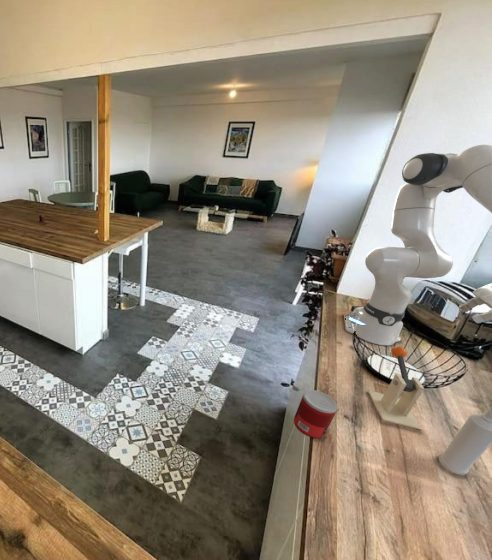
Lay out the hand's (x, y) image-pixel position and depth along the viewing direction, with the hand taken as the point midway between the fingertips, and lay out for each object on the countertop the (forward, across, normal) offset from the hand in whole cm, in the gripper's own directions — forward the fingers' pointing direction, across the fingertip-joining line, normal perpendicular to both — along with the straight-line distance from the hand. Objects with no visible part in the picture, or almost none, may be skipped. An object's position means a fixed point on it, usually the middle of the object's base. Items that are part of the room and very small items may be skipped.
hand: (467, 314), depth 87 cm
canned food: (+46, +30, +1) cm, 54 cm away
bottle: (+25, +22, +25) cm, 42 cm away
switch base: (+30, +8, +15) cm, 35 cm away
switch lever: (+22, +4, +6) cm, 23 cm away
